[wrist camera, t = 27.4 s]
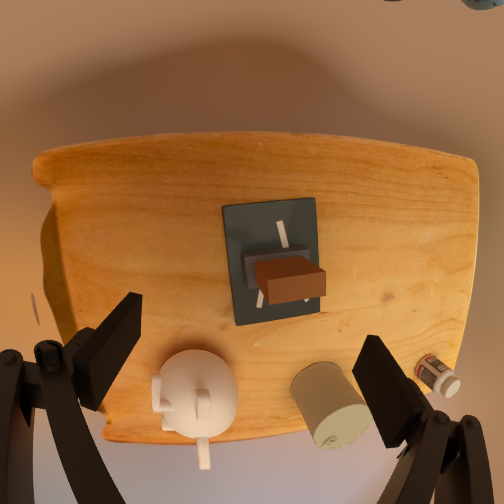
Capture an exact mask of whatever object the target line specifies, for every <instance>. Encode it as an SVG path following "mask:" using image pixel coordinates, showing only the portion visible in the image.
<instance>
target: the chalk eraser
mask: <svg viewBox="0 0 504 504" xmlns="http://www.w3.org/2000/svg"><path fill="white" fill-rule="evenodd" d="M242 255H243V265H244V275H245V283H246V285H247V287H248V289H253V288H259V289H260V290H261V292H262V294H263V295H264V297H265V299H266V300H267V302H268V304H269V305H272V304H279V303H285V302H291V301H297V300H303V299H309V298H315V297H320V296H326V271H324V270H323V269H321V268H320V267H318V266H317V265H315V264H314V263H312V262H311V261H310V253H309V249H308V248H306V247H304V246H295V247H287V248H279V249H271V250H263V251H255V252H246V253H242Z"/></svg>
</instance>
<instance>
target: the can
mask: <svg viewBox="0 0 504 504" xmlns="http://www.w3.org/2000/svg"><path fill="white" fill-rule="evenodd" d="M291 394H292V397H293V399H294V400H295V401H296V403H297V405H298V407H299V409H300V411H301V414H302V416H303V418H304V420H305V422H306V424H307V426H308V429H309V431H310V433H311V435H312V437H313V440H314V443H315V444H316V445H317V446H318V447H319V448H322V449H327V450H329V449H330V450H332V449H338V448H341V447H344V446H347V445H349V444H351V443H353V442H354V441H356V440H357V439H358V438H360V437H361V436H362V435H363V434H364V433H365V432H366V431H367V430H368V428H369V427H370V425H371V423H372V420H373V417H372V414H371V412H370V410H369V408H368V405H367V404H366V403H365V402H364V400H363V399H362V398H361V397H360V395H359V394H358V393H357V392H356V390H355V389H354V388H353V386H352V385H351V384H350V383H349V381H348V380H347V379H346V377H345V376H344V374H343V373H342V371H341V369H340V368H339V367H338V366H337V365H335V364H333V363H330V362H320V363H316V364H313V365H311V366H309V367H307V368H305V369H304V370H303V371H301V372H300V373H299V374H298V375H297V377H296V378H295V379H294V381H293V383H292V387H291Z"/></svg>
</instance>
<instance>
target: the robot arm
mask: <svg viewBox="0 0 504 504" xmlns="http://www.w3.org/2000/svg"><path fill="white" fill-rule="evenodd" d="M461 1H462V2H463V3H465V5H466V6H468V7H469V8H471V9H474V10H486V9H492V8H494V7H495V6H500V5H502V4H504V0H461ZM141 312H142V295H141V294H137V293H133V292H129V293H128V294H127V296H126V297H125V298H124V299H123V300H122V301H121V302H120V303H119V304H118V305H117V306H116V308H115V309H114V310H113V311H112V312H111V313H110V314H109V315H108V316H107V317H106V319H105V320H104V321H103V322H102V323H101V324H100V325H99V326H98V328H97V329H96V330H95V329H92V328H89V327H86V328H84V329H82V330H80V331H78V332H77V333H76V334H75V336H74V337H73V338H72V339H71V340H70V341H69V342H68V343H67V344H66V345H65V346H64V347H63V346H62V344H61V343H59V342H57V341H54V340H45V341H41V342H39V343H37V345H36V346H35V348H34V354H35V358H36V363H33V362H27V361H24V360H23V356H22V355H21V353H20V352H18V351H16V350H13V349H7V350H4V351H2V352H1V353H0V504H35V503H34V490H33V431H34V430H33V429H34V416H35V408H40V409H46V412H47V416H48V420H49V424H50V427H51V431H52V434H53V438H54V441H55V444H56V447H57V451H58V454H59V457H60V460H61V462H62V465H63V468H64V471H65V473H66V476H67V478H68V481H69V483H70V486H71V489H72V491H73V493H74V495H75V498H76V500H77V502H78V504H126V503H125V501H124V500H123V498H122V496H121V494H120V493H119V491H118V489H117V488H116V485H115V484H114V482H113V480H112V478H111V476H110V474H109V472H108V470H107V468H106V466H105V464H104V462H103V460H102V458H101V456H100V454H99V452H98V449H97V447H96V445H95V443H94V440H93V438H92V436H91V434H90V431H89V429H88V426H87V423H86V421H85V418H84V416H83V413H82V410H81V408H80V405H79V402H78V398H79V400H80V404H81V406H82V407H85V408H87V409H90V410H93V411H97V409H98V407H99V406H100V404H101V402H102V400H103V399H104V397H105V395H106V393H107V392H108V390H109V388H110V386H111V385H112V383H113V381H114V379H115V378H116V376H117V374H118V373H119V371H120V369H121V368H122V366H123V364H124V363H125V361H126V359H127V358H128V356H129V354H130V353H131V351H132V349H133V348H134V346H135V344H136V343H137V341H138V340H139V338H140V336H141ZM352 372H353V374H354V377H355V379H356V381H357V383H358V385H359V388H360V390H361V392H362V394H363V396H364V399H365V401H366V403H367V405H368V408H369V410H370V412H371V414H372V417H373V419H374V421H375V423H376V426H377V428H378V430H379V433H380V435H381V437H382V440H383V442H384V444H385V447H386V448H395V447H399V446H400V445H401V443H402V442H403V441H404V440H406V442H407V446H406V447H405V448H404V449H403V451H402V452H401V453H400V454H399V455H398V457H397V458H399V457H400V459H399V461H398V463H397V465H396V467H395V469H394V471H393V474H392V476H391V478H390V480H389V482H388V484H387V485H386V487H385V489H384V491H383V493H382V495H381V497H380V499H379V501H378V502H377V504H430V501H431V498H432V495H433V492H434V489H435V496H434V504H494V497H493V488H492V480H491V473H490V468H489V461H488V456H487V450H486V445H485V440H484V436H483V431H482V427H481V424H480V422H479V421H478V419H477V418H475V417H474V416H471V415H465V416H463V418H462V419H461V420H460V422H455V421H451V420H450V418H449V416H447V415H446V414H445V413H443V412H442V411H438V410H434V409H433V408H432V406H431V405H430V403H429V402H428V400H427V399H426V397H425V396H424V394H423V393H422V391H420V388H419V387H418V385H417V384H416V383H415V382H414V381H413V380H411V379H410V378H407V377H406V375H405V374H404V372H403V371H402V369H401V368H400V366H399V365H398V363H397V362H396V360H395V359H394V358H393V356H392V355H391V353H390V352H389V350H388V349H387V347H386V346H385V345H384V343H383V342H382V340H381V339H380V337H379V336H376V335H367V337H366V340H365V342H364V345H363V347H362V349H361V352H360V354H359V356H358V359H357V361H356V363H355V365H354V368H353V370H352Z"/></svg>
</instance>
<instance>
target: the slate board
mask: <svg viewBox="0 0 504 504" xmlns="http://www.w3.org/2000/svg"><path fill="white" fill-rule="evenodd" d="M222 209H223V219H224V228H225V237H226V246H227V255H228V264H229V273H230V281H231V290H232V298H233V306H234V314H235V322H236V326H241V325H247V324H254V323H260V322H267V321H273V320H279V319H284V318H290V317H296V316H301V315H307V314H312V313H317V312H320V297H315V298H309V299H303V300H297V301H291V302H285V303H279V304H272V305H269V304H268V302H267V300H266V299H265V297H264V295H263V294H262V292H261V290H260V289H259V288H253V289H248V287H247V285H246V283H245V275H244V265H243V255H242V253H246V252H255V251H263V250H271V249H279V248H287V247H295V246H304V247H306V248H308V249H309V253H310V261H311V262H312V263H314V264H315V265H317V266H318V267H319V255H318V234H317V217H316V202H315V198H302V199H290V200H279V201H268V202H257V203H248V204H238V205H229V206H222Z"/></svg>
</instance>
